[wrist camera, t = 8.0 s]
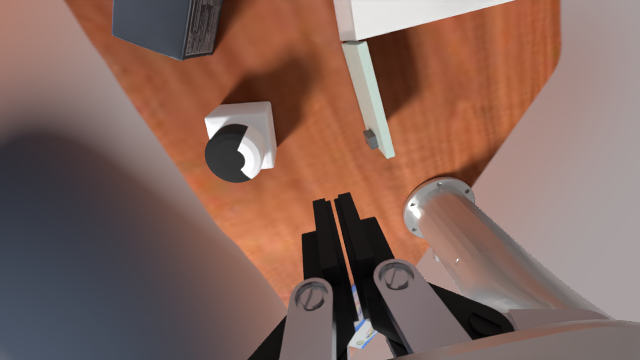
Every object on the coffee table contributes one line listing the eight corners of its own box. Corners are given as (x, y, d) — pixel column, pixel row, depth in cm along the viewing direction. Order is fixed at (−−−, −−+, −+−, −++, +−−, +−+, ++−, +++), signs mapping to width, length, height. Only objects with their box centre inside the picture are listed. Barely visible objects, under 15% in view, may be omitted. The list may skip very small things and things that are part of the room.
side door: (361, 137, 41) (379, 161, 33) (334, 47, 35) (347, 49, 27) (374, 132, 41) (395, 155, 32) (348, 41, 35) (366, 41, 26)
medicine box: (355, 280, 55) (365, 319, 48) (373, 286, 57) (386, 325, 49) (336, 305, 58) (343, 345, 51) (354, 310, 59) (363, 350, 52)
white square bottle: (229, 152, 40) (206, 193, 30) (218, 104, 37) (188, 130, 26) (277, 148, 41) (271, 187, 30) (270, 100, 37) (262, 124, 27)
